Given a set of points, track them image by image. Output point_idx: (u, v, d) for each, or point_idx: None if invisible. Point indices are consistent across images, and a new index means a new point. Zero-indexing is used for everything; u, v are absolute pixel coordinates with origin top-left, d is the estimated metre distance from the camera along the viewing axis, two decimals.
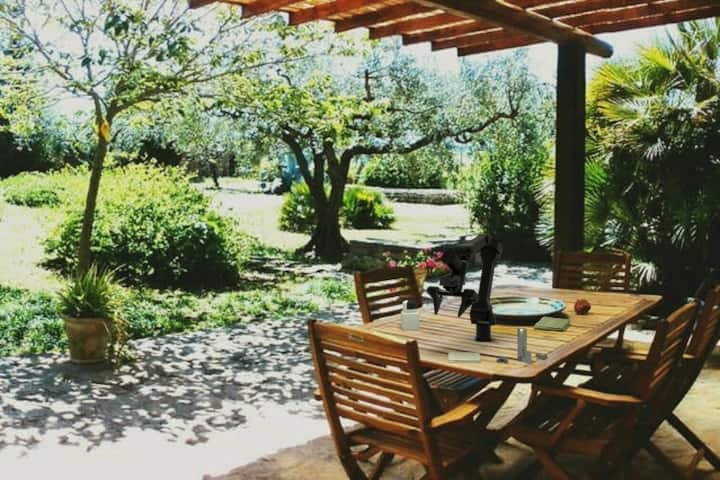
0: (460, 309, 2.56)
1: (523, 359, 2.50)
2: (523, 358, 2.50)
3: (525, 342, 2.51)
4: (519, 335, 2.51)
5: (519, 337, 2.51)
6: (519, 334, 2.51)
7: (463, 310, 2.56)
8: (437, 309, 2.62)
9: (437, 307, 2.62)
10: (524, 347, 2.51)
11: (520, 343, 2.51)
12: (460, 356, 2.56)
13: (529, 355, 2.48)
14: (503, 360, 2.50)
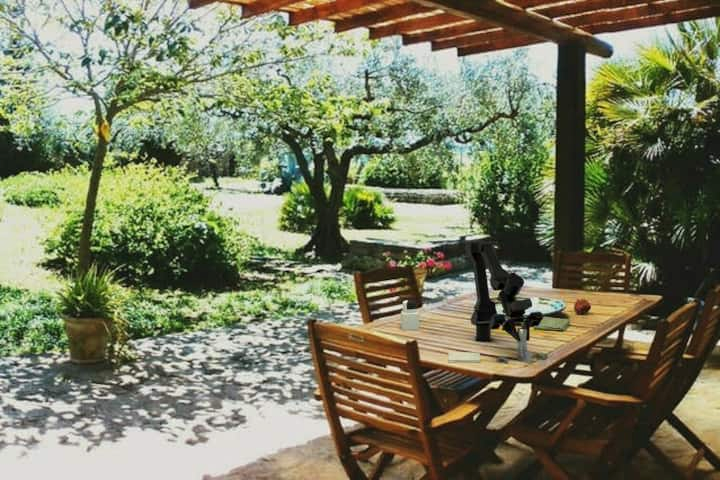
0: (528, 332, 2.52)
1: (523, 359, 2.50)
2: (523, 358, 2.50)
3: (525, 342, 2.51)
4: (519, 335, 2.51)
5: (519, 337, 2.51)
6: (519, 334, 2.51)
7: None
8: None
9: None
10: (524, 347, 2.51)
11: (520, 343, 2.51)
12: (460, 356, 2.56)
13: (529, 355, 2.48)
14: (503, 360, 2.50)
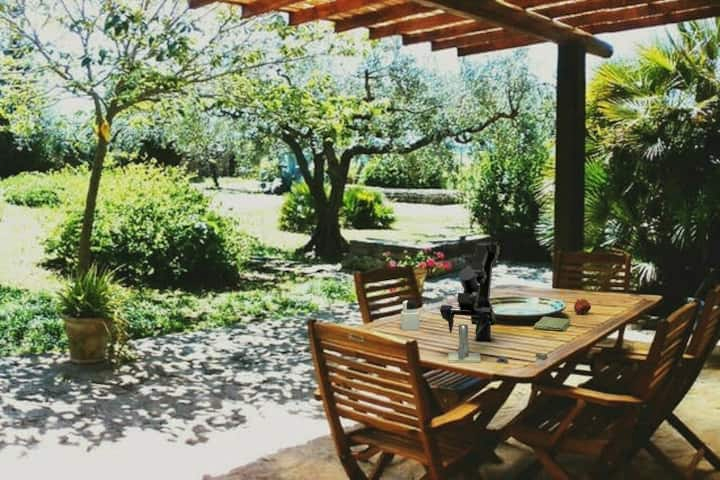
0: (478, 326, 2.53)
1: None
2: None
3: (464, 339, 2.54)
4: (459, 331, 2.56)
5: (459, 333, 2.56)
6: (459, 330, 2.56)
7: (480, 328, 2.54)
8: (451, 327, 2.57)
9: (451, 325, 2.58)
10: (463, 344, 2.54)
11: (459, 339, 2.55)
12: None
13: (460, 351, 2.51)
14: (503, 360, 2.50)
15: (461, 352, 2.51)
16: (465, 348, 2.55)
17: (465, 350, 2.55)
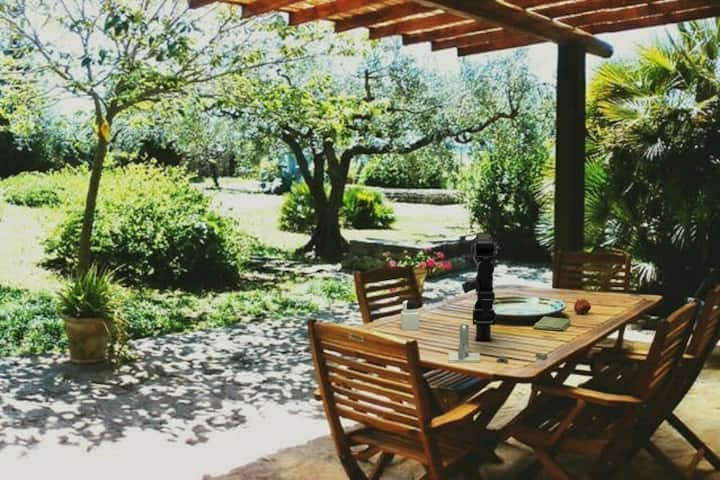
0: (482, 310, 2.63)
1: None
2: None
3: (465, 339, 2.54)
4: None
5: None
6: None
7: (486, 310, 2.62)
8: None
9: None
10: (463, 344, 2.54)
11: (460, 339, 2.55)
12: None
13: (461, 351, 2.51)
14: (503, 360, 2.50)
15: (461, 352, 2.51)
16: (465, 348, 2.55)
17: (465, 350, 2.55)
